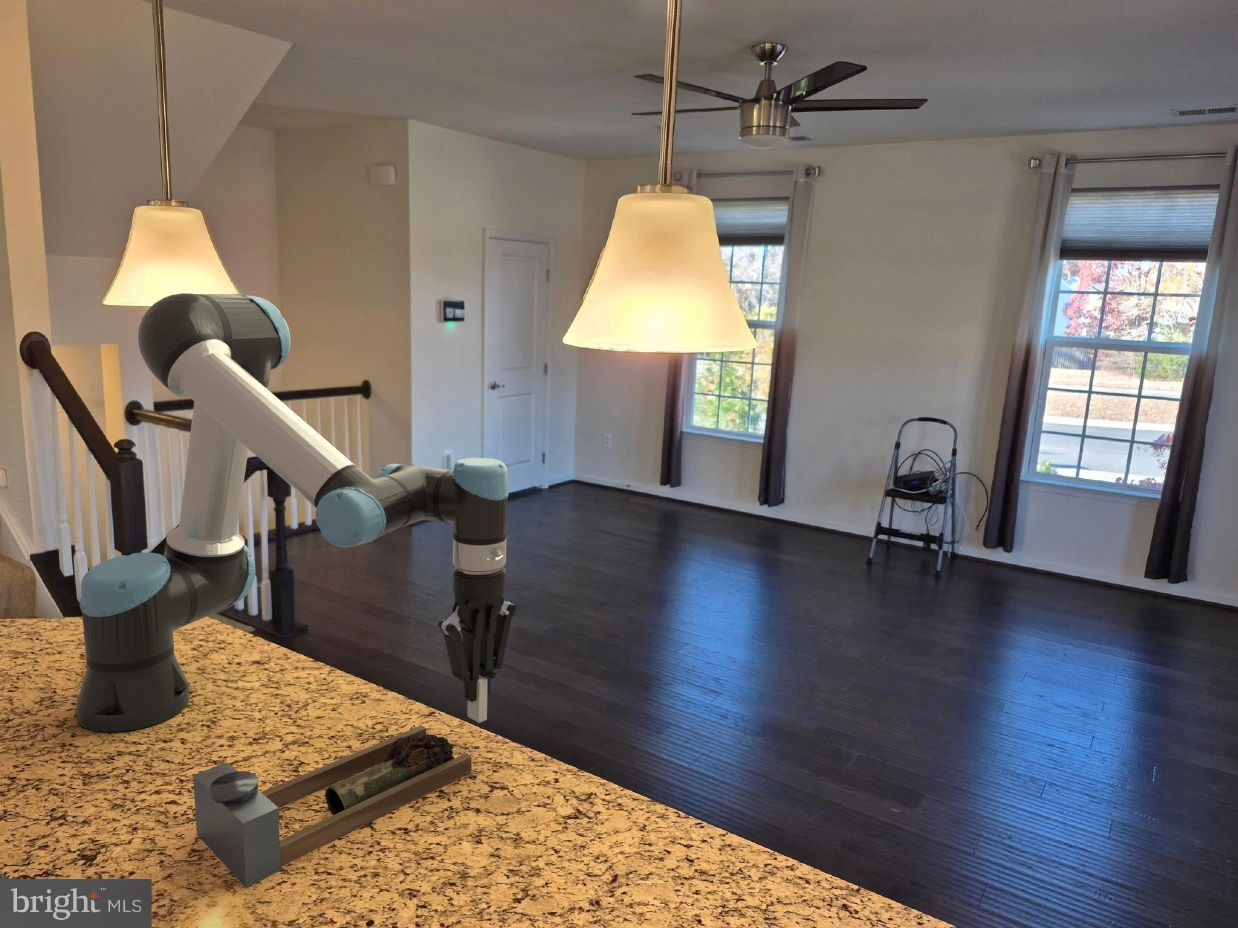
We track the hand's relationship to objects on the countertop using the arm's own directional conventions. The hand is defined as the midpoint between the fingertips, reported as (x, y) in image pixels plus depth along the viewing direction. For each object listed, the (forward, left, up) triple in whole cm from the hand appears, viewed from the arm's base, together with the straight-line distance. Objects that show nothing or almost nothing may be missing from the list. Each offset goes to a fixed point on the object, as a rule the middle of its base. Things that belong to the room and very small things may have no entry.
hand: (477, 717), depth 123 cm
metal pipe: (+1, -15, -4) cm, 16 cm away
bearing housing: (0, -36, -4) cm, 36 cm away
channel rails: (0, -20, -4) cm, 20 cm away
